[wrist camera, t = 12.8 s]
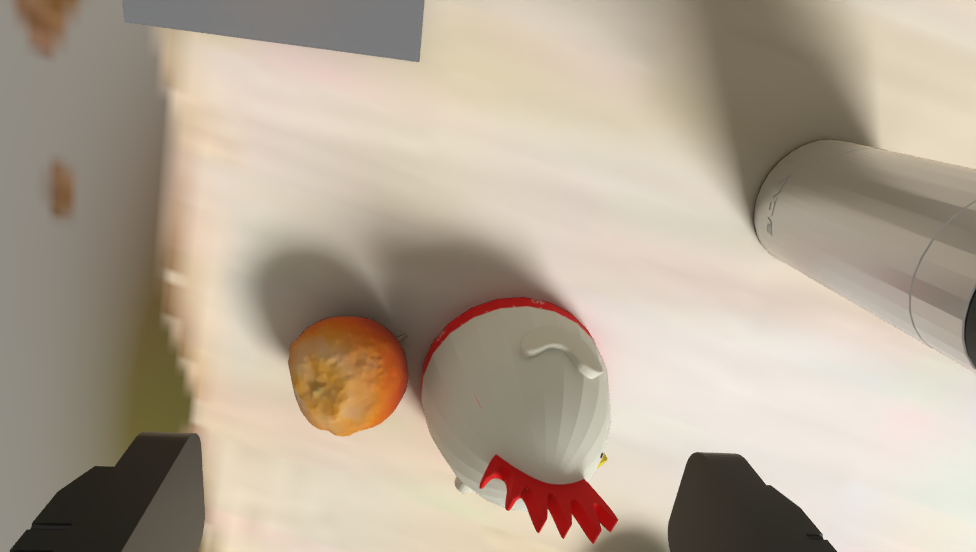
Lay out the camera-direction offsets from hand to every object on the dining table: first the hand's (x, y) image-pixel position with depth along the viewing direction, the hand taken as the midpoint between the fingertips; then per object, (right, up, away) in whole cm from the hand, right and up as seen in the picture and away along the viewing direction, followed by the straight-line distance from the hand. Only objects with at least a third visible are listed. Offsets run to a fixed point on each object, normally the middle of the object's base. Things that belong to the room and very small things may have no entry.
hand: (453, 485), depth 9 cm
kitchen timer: (+2, -4, +35) cm, 35 cm away
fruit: (-9, -2, +32) cm, 34 cm away
